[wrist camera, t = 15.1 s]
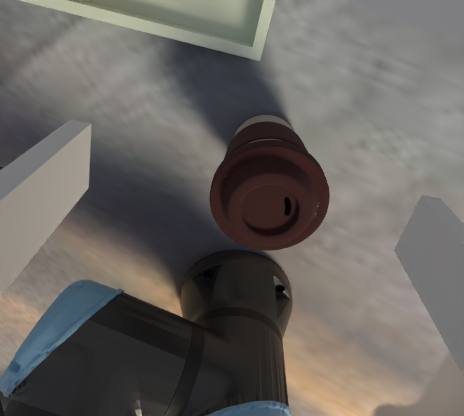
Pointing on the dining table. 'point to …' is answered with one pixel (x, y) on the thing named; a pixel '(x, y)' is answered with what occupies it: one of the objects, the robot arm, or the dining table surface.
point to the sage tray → (184, 20)
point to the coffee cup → (268, 187)
